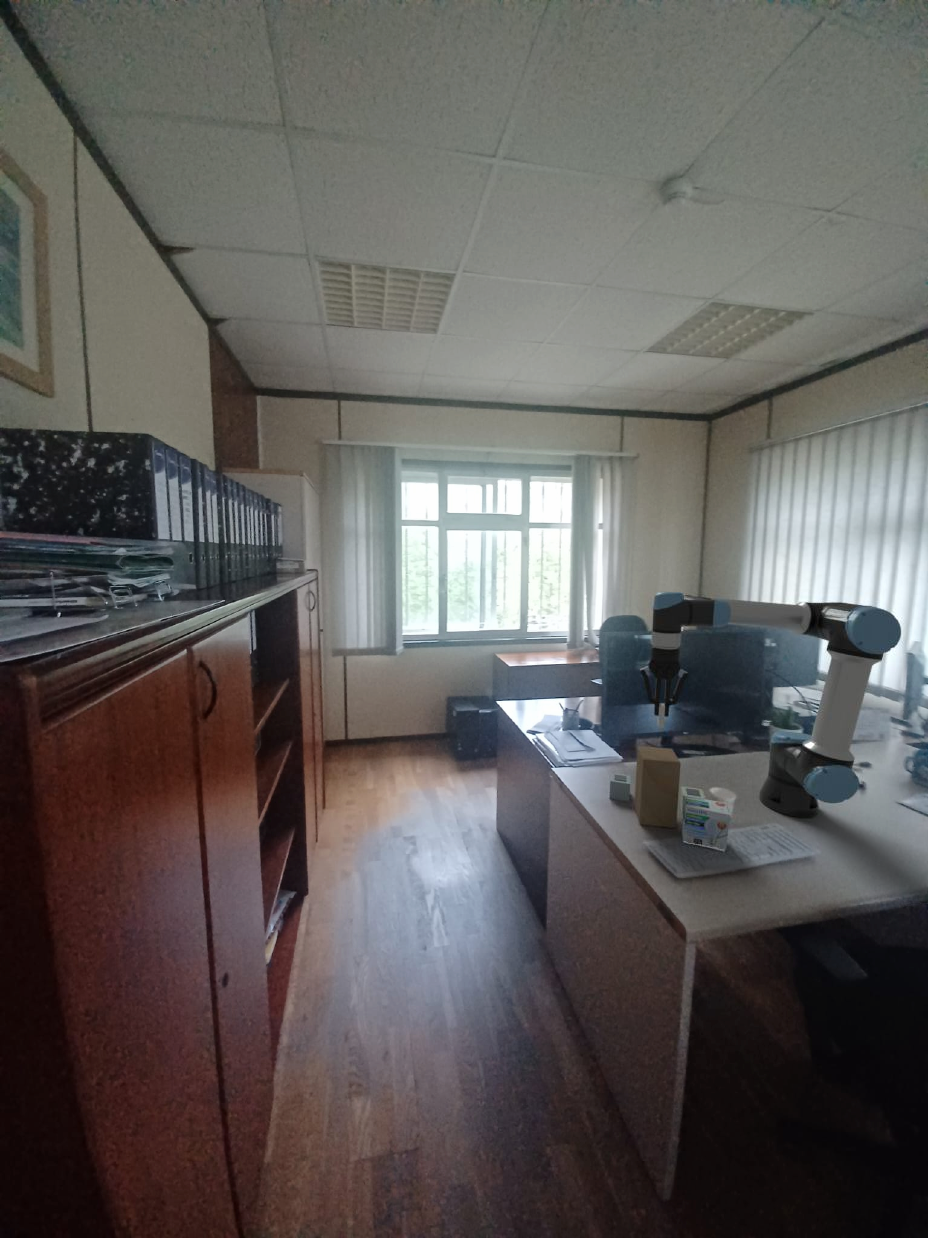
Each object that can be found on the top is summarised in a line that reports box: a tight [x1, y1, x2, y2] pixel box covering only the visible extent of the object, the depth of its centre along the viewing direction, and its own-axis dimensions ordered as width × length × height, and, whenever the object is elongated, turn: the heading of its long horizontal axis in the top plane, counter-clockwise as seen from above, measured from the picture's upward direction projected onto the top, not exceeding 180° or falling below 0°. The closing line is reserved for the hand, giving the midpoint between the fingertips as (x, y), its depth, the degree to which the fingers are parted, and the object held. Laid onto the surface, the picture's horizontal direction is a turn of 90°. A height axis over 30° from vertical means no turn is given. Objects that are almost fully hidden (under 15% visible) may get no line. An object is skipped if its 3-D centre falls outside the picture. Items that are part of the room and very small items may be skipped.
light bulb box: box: [681, 796, 730, 850], centre depth 125 cm, size 11×7×11 cm, turn 68°
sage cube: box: [679, 785, 706, 815], centre depth 140 cm, size 6×6×6 cm
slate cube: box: [609, 772, 631, 802], centre depth 149 cm, size 6×6×6 cm
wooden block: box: [633, 745, 681, 829], centre depth 136 cm, size 10×10×20 cm
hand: (660, 726), depth 133 cm, fingers closed
